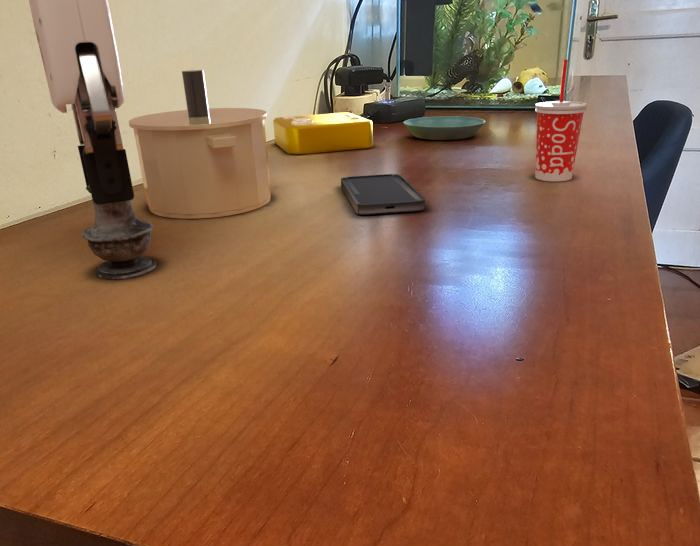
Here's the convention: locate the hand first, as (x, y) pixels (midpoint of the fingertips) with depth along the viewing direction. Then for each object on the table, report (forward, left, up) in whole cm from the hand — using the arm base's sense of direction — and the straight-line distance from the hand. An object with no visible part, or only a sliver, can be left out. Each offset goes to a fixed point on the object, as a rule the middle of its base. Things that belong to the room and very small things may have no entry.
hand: (110, 194), depth 54 cm
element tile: (+41, +50, -7) cm, 65 cm away
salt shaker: (0, 0, -7) cm, 7 cm away
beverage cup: (+55, +7, -7) cm, 56 cm away
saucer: (+63, +45, -7) cm, 78 cm away
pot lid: (+13, +20, +3) cm, 24 cm away
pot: (+13, +20, -7) cm, 25 cm away
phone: (+31, +10, -7) cm, 33 cm away
